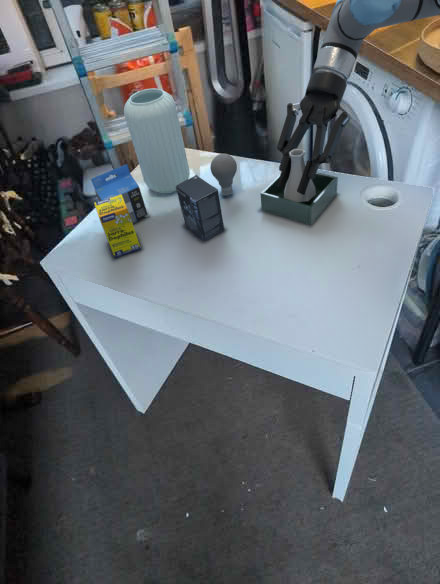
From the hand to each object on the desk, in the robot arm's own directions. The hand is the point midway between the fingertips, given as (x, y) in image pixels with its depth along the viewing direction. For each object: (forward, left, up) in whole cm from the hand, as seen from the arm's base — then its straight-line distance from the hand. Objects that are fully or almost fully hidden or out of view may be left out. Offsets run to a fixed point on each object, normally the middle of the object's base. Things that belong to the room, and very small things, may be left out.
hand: (290, 190), depth 91 cm
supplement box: (+26, +26, -6) cm, 37 cm away
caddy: (0, -4, -6) cm, 7 cm away
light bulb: (+17, 0, -6) cm, 18 cm away
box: (+14, +13, -6) cm, 20 cm away
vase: (+33, +3, -6) cm, 34 cm away
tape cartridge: (+32, +19, -6) cm, 38 cm away
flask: (0, -4, -4) cm, 5 cm away
